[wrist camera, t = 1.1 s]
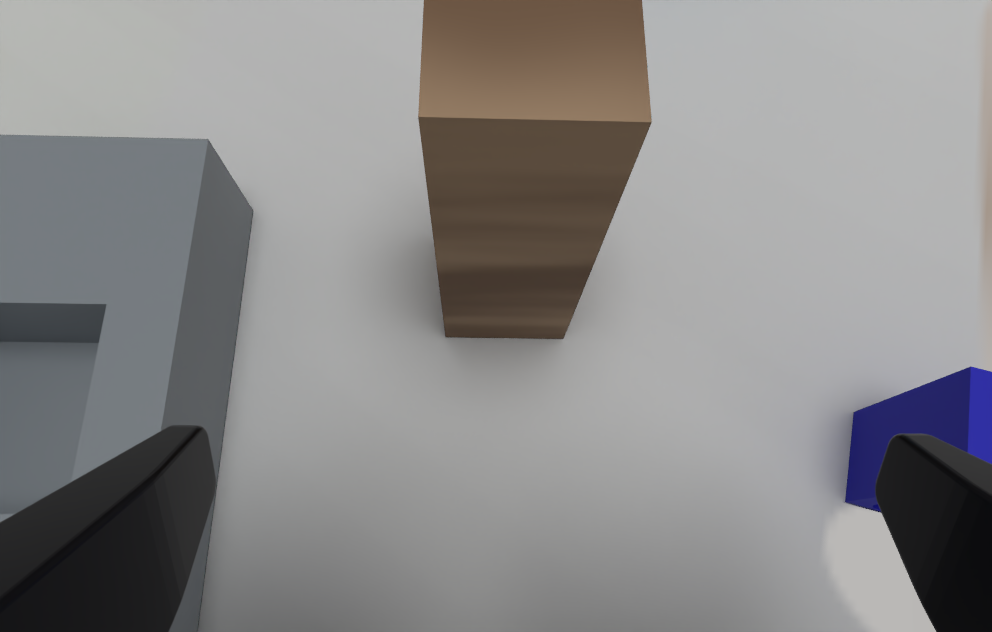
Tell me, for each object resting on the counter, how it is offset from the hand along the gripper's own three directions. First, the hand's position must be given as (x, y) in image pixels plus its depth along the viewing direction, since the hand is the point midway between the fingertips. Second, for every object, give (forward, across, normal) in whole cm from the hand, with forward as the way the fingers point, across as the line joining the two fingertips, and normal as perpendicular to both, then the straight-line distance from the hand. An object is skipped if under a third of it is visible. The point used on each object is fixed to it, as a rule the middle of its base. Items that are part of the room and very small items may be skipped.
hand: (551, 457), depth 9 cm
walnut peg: (+15, 0, +4) cm, 15 cm away
